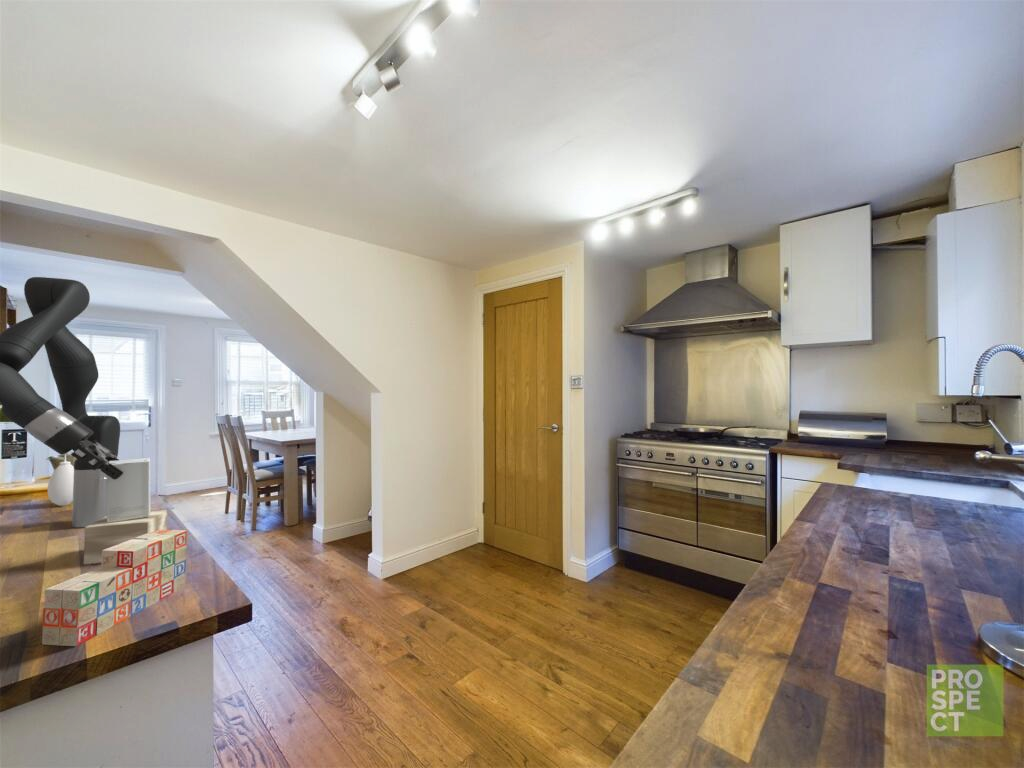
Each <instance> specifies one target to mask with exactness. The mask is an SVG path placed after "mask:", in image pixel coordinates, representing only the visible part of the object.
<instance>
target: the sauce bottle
mask: <svg viewBox="0 0 1024 768" xmlns="http://www.w3.org/2000/svg"><path fill="white" fill-rule="evenodd" d="M66 454H67V453H66ZM66 454H64V460H63V461H61V462H59V465H58V466H57V467H56V468H55V469H54V470H53V472H52V474H51V476H50V478H49V481H48V484H47V496H48V498H49V500H50V502H52V504H56V506H60V507H66V506H68V505H70V504H71V503H72V502H73V483H74V465H73V464H72V462H71V461H67V455H66Z"/></svg>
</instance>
